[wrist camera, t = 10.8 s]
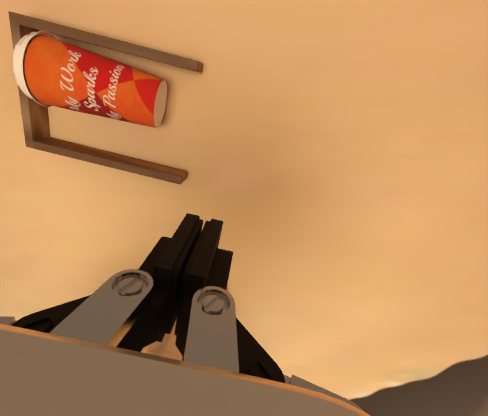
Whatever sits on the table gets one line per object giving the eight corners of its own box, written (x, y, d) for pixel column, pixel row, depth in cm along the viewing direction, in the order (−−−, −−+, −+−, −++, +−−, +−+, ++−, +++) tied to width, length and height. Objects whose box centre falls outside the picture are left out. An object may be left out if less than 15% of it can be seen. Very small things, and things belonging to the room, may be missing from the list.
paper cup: (147, 143, 29) (14, 108, 27) (164, 128, 36) (58, 98, 34) (154, 69, 26) (1, 21, 24) (172, 67, 32) (54, 30, 30)
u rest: (186, 177, 37) (180, 184, 35) (43, 142, 37) (26, 146, 34) (203, 63, 31) (197, 61, 28) (31, 18, 30) (8, 11, 28)
